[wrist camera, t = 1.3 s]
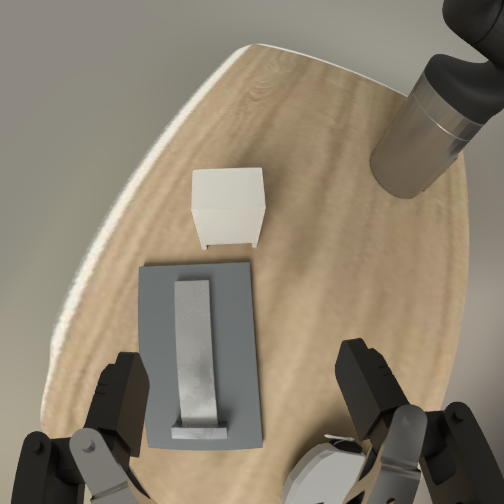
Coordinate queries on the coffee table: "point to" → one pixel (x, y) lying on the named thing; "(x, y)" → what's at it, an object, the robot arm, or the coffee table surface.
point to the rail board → (224, 354)
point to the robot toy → (324, 473)
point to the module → (228, 205)
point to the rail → (195, 364)
